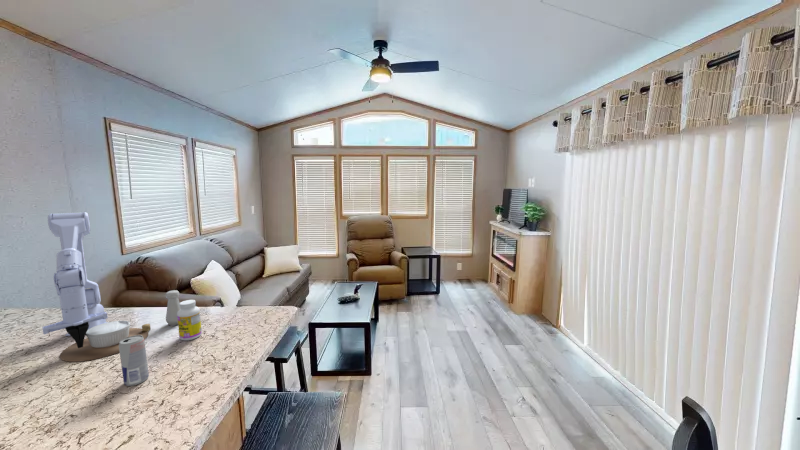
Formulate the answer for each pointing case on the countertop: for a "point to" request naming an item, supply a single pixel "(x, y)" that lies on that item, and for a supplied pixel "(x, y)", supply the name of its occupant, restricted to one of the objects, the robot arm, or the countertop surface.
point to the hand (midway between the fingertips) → (80, 346)
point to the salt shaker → (172, 307)
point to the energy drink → (133, 360)
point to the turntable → (93, 353)
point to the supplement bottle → (189, 320)
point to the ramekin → (108, 333)
